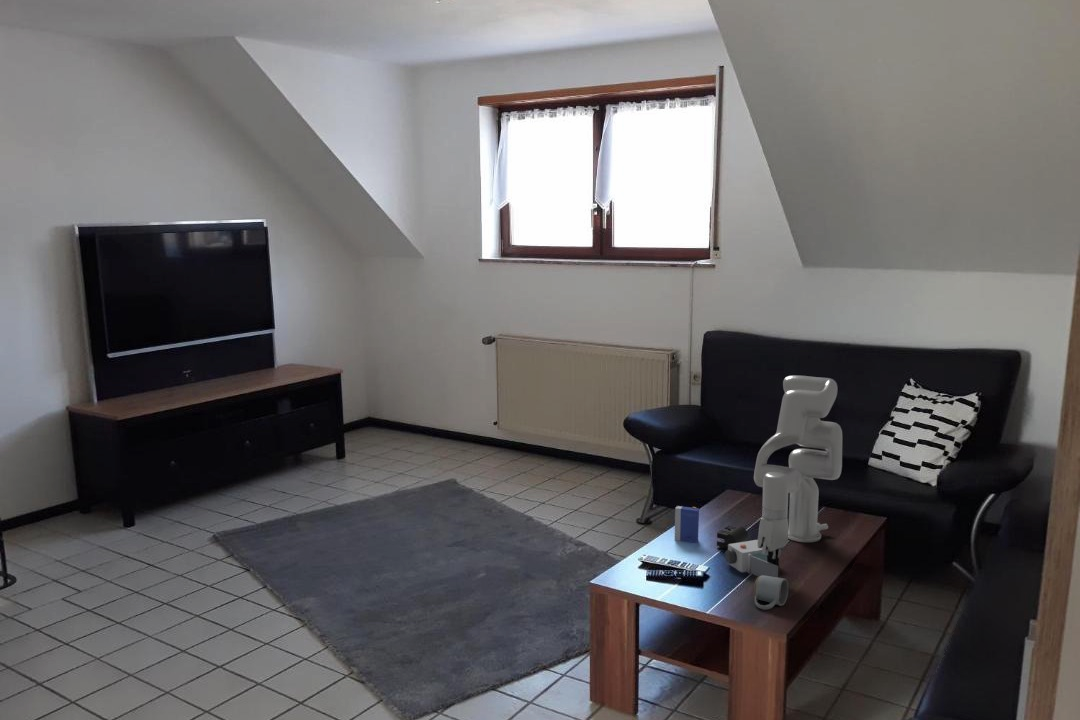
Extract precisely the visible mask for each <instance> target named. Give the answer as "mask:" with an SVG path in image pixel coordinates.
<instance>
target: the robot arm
mask: <svg viewBox="0 0 1080 720" xmlns="http://www.w3.org/2000/svg"><path fill="white" fill-rule="evenodd" d="M782 388H783V391H784V394H783V396H782V399H781V406H780V410H779V415H778V422H777V427H776V432H775V434H774V435H772V436H771V437H770V438H768V439H767V440H766V442H764V444H763V445H762V446H761V448H760V449H759V451H758V453H757V456H756V461H755V467H754V473H753V480H754V483H755V485H756V486H757V487H759V488H762V505H761V506H762V507H761V512H762V513H761V517H760V522H759V526H758V527H759V528H758V534H757V540H758V548H762V554H763V555H766V557H767V562H769V563H772V564H774V565H777V566H778V570H779V567H780V565H779V563H780V557H781V551H782V550H783V549H784V548H785V546H786V545H787V544H788V540H791V541H794V542H799V543H816V542H819V541H820V540H821V539H822V534H821V530H822V531H823V530H827V529H829V525H828V524H827V523H822V524H821V523H820V522H818V513H819V512H818V511H819V493H820V492H819V490H820V489H819V487H818V485H817V483H816V481H815V480H814V479H819V480H820V479H821V480H827V481H829V480H830V481H833V480H838V479H839V478H840V476H841V474H842V469H843V430H842V428H841V427H842V426H841V425H840V424H838V423H837V422H835V421H834V422H833V421H826V420H825V421H824V420H821V419H824V418H825V417H827V416H828V415H829V413H830V411H831V409H832V407H833V406H834V403H835V401H836V398H837V396H838V384H837V382H836V380H834V379H833V378H830V377H818V376H817V377H816V376H810V375H809V376H807V375H799V374H798V375H795V374H794V375H793V374H791V375H788V376H785V378H784V379H783V381H782ZM792 445H798V446H800V447H804V448H795V449H793V450H792V451H791V452H790V454H789V455H788V466H782V465H776V464H767V463H768V459H769V458H770V456H771V455H772V454H773V453H774V452H775V451H778V450H780V449H782V448H785V447H788V446H792ZM810 448H811V449H810ZM812 448H813V449H812ZM818 449H821V450H818ZM788 507H789V508H788ZM778 557H779V558H778Z"/></svg>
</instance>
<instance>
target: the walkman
mask: <svg viewBox="0 0 1080 720" xmlns="http://www.w3.org/2000/svg"><path fill="white" fill-rule="evenodd" d="M699 518H700V508H699V507H698V508H697V507H696V506H692V507H689V506H683V505H681V506H680V505H676V507H675V509H674V541H678V542H684V543H685V542H686V543H694V544H697V543H698V542H699V530H700V529H699V525H700V524H699V521H700V519H699Z"/></svg>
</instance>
